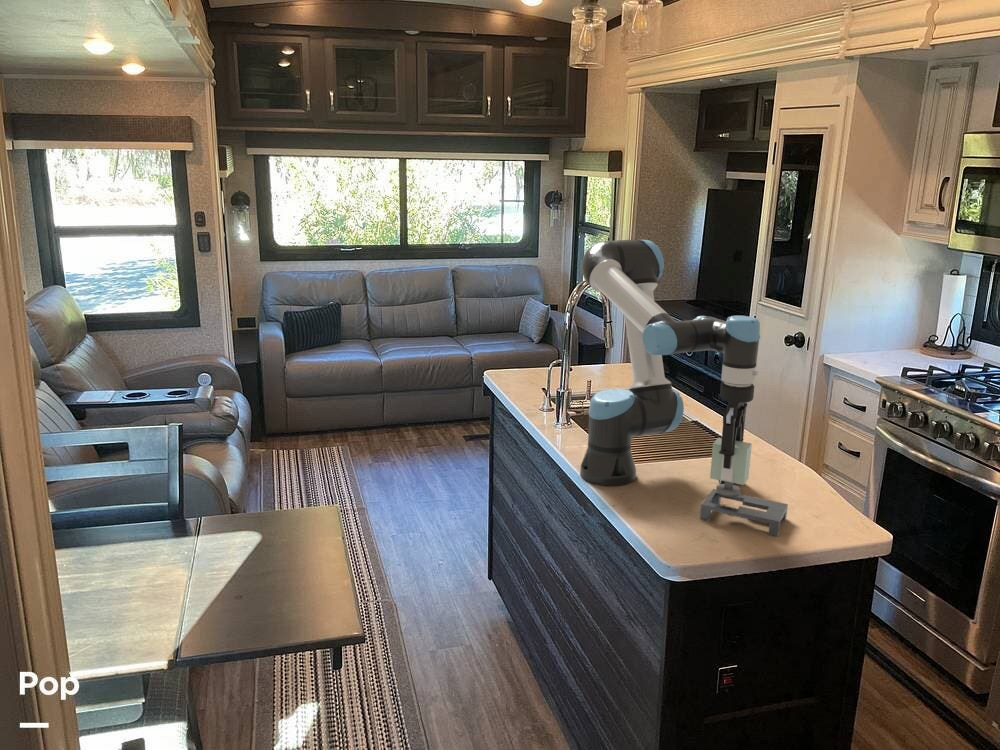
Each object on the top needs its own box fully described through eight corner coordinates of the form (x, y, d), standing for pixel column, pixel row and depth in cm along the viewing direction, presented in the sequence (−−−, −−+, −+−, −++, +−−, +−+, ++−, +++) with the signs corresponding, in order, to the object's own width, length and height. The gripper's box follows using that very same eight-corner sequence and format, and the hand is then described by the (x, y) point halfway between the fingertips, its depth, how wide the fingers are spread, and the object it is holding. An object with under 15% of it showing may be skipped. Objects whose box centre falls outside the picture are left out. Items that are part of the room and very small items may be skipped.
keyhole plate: (699, 518, 189) (701, 504, 188) (712, 502, 199) (713, 488, 198) (777, 536, 181) (779, 521, 180) (786, 518, 190) (787, 504, 189)
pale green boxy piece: (708, 492, 190) (712, 443, 186) (714, 485, 194) (718, 437, 191) (742, 499, 186) (746, 449, 183) (747, 491, 191) (752, 442, 187)
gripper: (745, 394, 174) (736, 491, 180) (762, 376, 189) (753, 467, 195) (711, 389, 177) (703, 485, 183) (731, 372, 192) (723, 461, 198)
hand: (729, 475), depth 189 cm, fingers closed on pale green boxy piece, 5 cm apart
